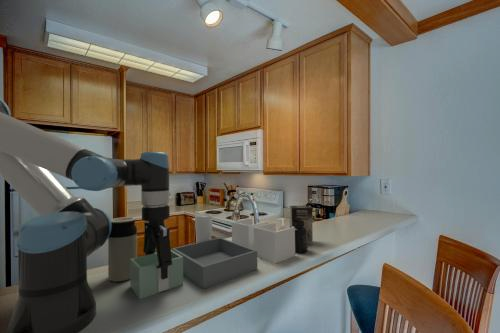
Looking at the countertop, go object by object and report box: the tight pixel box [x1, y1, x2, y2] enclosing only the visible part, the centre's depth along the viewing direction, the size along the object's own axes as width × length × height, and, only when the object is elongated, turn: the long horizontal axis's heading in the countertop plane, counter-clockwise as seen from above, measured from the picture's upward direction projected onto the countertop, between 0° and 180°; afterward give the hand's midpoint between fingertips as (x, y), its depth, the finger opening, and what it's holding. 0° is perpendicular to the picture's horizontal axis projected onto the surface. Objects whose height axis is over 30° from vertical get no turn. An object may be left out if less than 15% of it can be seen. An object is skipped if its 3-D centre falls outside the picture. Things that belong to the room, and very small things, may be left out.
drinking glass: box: [194, 213, 213, 243], centre depth 98 cm, size 7×7×15 cm
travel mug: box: [107, 216, 138, 283], centre depth 77 cm, size 8×8×18 cm
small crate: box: [129, 249, 184, 300], centre depth 71 cm, size 12×9×8 cm
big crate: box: [171, 237, 258, 290], centre depth 83 cm, size 20×22×6 cm
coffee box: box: [289, 205, 314, 246], centre depth 108 cm, size 9×6×16 cm
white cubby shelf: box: [231, 217, 296, 264], centre depth 98 cm, size 25×11×11 cm, turn 41°
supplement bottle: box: [291, 220, 309, 254], centre depth 98 cm, size 7×7×12 cm
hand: (157, 283), depth 71 cm, fingers closed on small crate, 9 cm apart
